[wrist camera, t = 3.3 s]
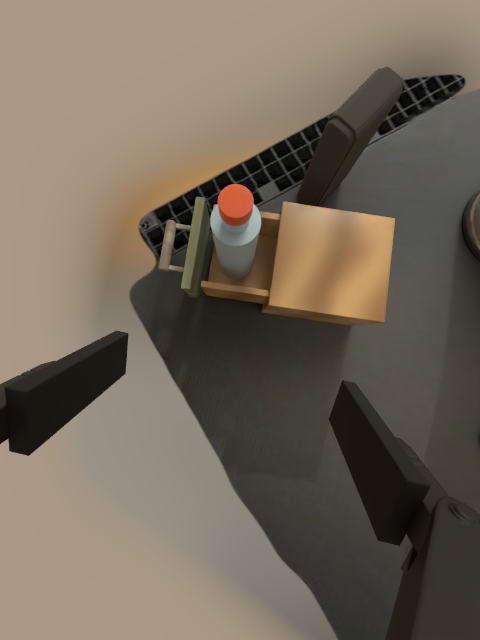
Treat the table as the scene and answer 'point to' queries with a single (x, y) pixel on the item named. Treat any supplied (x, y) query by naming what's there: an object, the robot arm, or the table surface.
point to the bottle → (235, 230)
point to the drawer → (218, 283)
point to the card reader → (349, 135)
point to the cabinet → (331, 265)
